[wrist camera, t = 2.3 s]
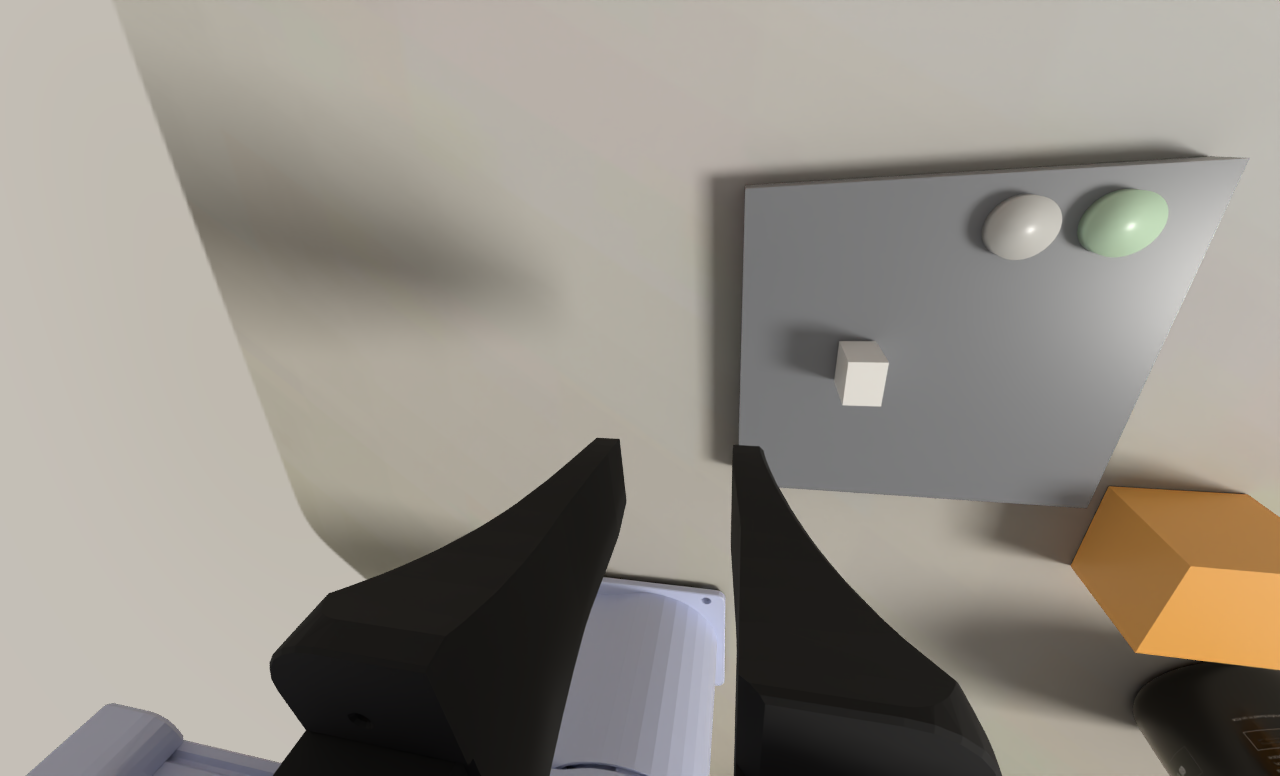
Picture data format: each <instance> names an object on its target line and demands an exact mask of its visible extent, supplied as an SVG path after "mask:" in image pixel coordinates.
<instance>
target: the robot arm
mask: <svg viewBox="0 0 1280 776" xmlns="http://www.w3.org/2000/svg"><path fill="white" fill-rule="evenodd" d="M625 505H626V493H625V484H624V475H623V466H622V457H621V448H620V439H609V438H596V439H595V440H594V441H593V442H591V443H590V444H589V445H588V446H587V447H586V448H584V449H583V450H582V451H581V452H580V453H579V454H578V455H576V456H575V457H574V458H573V459H572V460H571V461H570V462H568V463H567V464H566V465H565V466H564V467H562V468H561V469H560V470H559V471H558V472H556V473H555V474H554V475H553V476H552V477H551V478H549V479H548V480H547V481H546V482H544V483H543V484H542V485H540V486H539V487H538V488H536V489H535V490H534V491H532V492H531V493H530V494H528V495H527V496H526V497H524V498H523V499H522V500H521V501H519V502H518V503H516V504H515V505H514V506H512V507H511V508H509V509H508V510H506V511H505V512H503V513H502V514H500V515H499V516H497V517H495V518H494V519H492V520H491V521H489V522H487V523H486V524H484V525H483V526H481V527H479V528H477V529H476V530H474V531H472V532H470V533H468V534H466V535H465V536H463V537H461V538H459V539H457V540H455V541H453V542H451V543H450V544H448V545H446V546H444V547H442V548H440V549H438V550H436V551H434V552H432V553H430V554H428V555H425V556H423V557H421V558H419V559H417V560H415V561H412V562H410V563H408V564H405V565H403V566H401V567H398V568H396V569H394V570H391V571H389V572H386V573H384V574H381V575H379V576H376V577H373V578H370V579H368V580H365V581H362V582H360V583H357V584H354V585H352V586H349V587H346V588H343V589H341V590H338V591H335V592H332V593H329V594H328V595H327V596H326V597H325V598H324V599H323V600H322V601H321V602H320V603H319V605H318V606H317V607H316V608H315V609H314V610H313V611H312V612H311V613H310V614H309V615H308V617H307V618H306V619H305V620H304V621H303V622H302V623H301V624H300V625H299V626H298V628H297V629H296V630H295V631H294V632H293V633H292V634H291V635H290V636H289V637H288V638H287V639H286V641H285V642H284V643H283V644H282V645H281V646H280V647H279V648H278V649H277V650H276V652H275V653H274V654H273V656H272V658H271V661H270V673H271V679H272V681H273V683H274V685H275V686H276V688H277V690H278V691H279V693H280V694H281V696H282V697H283V699H284V700H285V701H286V703H287V704H288V705H289V707H290V708H291V710H292V711H293V712H294V714H295V715H296V717H297V718H298V720H299V721H300V722H301V724H302V725H303V726H304V728H305V729H306V731H305V733H304V734H303V735H302V737H301V738H300V739H299V741H298V742H297V743H296V745H295V746H294V748H293V749H292V750H291V752H290V753H289V754H288V756H287V757H286V758H285V760H284V761H283V762H282V763H279V762H275V761H270V760H266V759H262V758H258V757H254V756H249V755H245V754H240V753H237V752H232V751H228V750H224V749H219V748H215V747H211V746H207V745H202V744H199V743H194V742H190V741H186V740H183V735H182V734H181V732H180V731H179V730H178V729H177V728H176V727H175V726H174V724H172V723H171V722H170V721H169V720H168V719H166V718H164V717H162V716H161V715H159V714H156V713H153V712H150V711H145V710H141V709H137V708H133V707H128V706H124V705H119V704H114V703H112V704H107V705H105V706H104V707H103V708H102V709H100V710H99V711H98V712H97V713H96V714H95V715H94V716H92V717H91V718H90V719H89V720H88V721H87V722H86V723H85V724H84V725H82V726H81V727H80V728H79V729H78V730H77V731H76V732H75V733H73V734H72V735H71V736H70V737H69V738H68V739H67V740H65V741H64V742H63V743H62V744H61V745H60V746H59V747H57V748H56V749H55V750H54V751H53V752H52V753H51V754H50V755H48V756H47V757H46V758H45V759H44V760H43V761H42V762H41V763H39V764H38V765H37V766H36V767H35V768H34V769H33V770H32V771H30V773H28V774H27V775H26V776H709V773H710V756H711V740H712V724H713V708H714V691H715V685H718V686H719V685H722V684H723V683H724V665H725V595H724V594H723V593H722V592H720V591H718V590H712V589H703V588H694V587H686V586H677V585H668V584H660V583H651V582H642V581H634V580H625V579H616V578H607V577H604V574H605V571H606V569H607V566H608V563H609V561H610V558H611V555H612V553H613V550H614V547H615V544H616V541H617V539H618V536H619V532H620V528H621V523H622V519H623V515H624V510H625ZM731 556H732V572H733V588H734V603H735V619H736V638H737V666H736V708H735V749H734V776H1002V774H1001V771H1000V768H999V765H998V762H997V759H996V757H995V754H994V751H993V749H992V747H991V744H990V742H989V740H988V738H987V735H986V733H985V731H984V730H983V728H982V726H981V724H980V722H979V720H978V718H977V716H976V714H975V712H974V711H973V709H972V707H971V705H970V703H969V702H968V700H967V698H966V696H965V694H964V692H963V691H962V689H961V687H960V686H959V684H958V683H957V682H956V681H955V680H954V679H953V678H952V677H950V676H949V675H948V674H947V673H945V672H944V671H943V670H942V669H940V668H939V667H938V666H937V665H936V664H934V663H933V662H932V661H931V660H929V659H928V658H927V657H926V656H924V655H923V654H922V653H921V652H919V651H918V650H917V649H916V648H914V647H913V646H912V645H911V644H910V643H908V642H907V641H906V640H905V639H904V638H902V637H901V636H900V635H899V634H898V633H897V632H896V631H895V630H894V629H893V628H891V627H890V626H889V625H888V624H887V623H886V622H885V621H884V620H883V619H882V618H881V617H880V616H879V615H878V614H877V613H876V612H875V611H874V610H873V609H872V608H871V607H870V606H869V605H868V604H867V603H866V602H865V601H864V600H863V599H862V598H861V597H860V596H859V595H858V594H857V593H856V592H855V591H854V590H853V589H852V588H851V587H850V586H849V585H848V584H847V582H846V581H845V580H844V579H843V578H842V577H841V576H840V574H839V573H838V572H837V571H836V570H835V569H834V567H833V566H832V565H831V564H830V563H829V561H828V560H827V559H826V558H825V556H824V555H823V554H822V553H821V551H820V550H819V549H818V548H817V546H816V545H815V544H814V542H813V541H812V540H811V538H810V537H809V535H808V534H807V533H806V531H805V530H804V528H803V527H802V525H801V524H800V522H799V521H798V519H797V518H796V516H795V514H794V513H793V511H792V510H791V508H790V506H789V505H788V503H787V501H786V499H785V498H784V496H783V494H782V492H781V491H780V489H779V487H778V485H777V483H776V481H775V479H774V477H773V475H772V472H771V470H770V468H769V466H768V463H767V460H766V457H765V454H764V450H763V449H762V448H761V447H760V446H746V445H734V446H733V460H732V513H731Z"/></svg>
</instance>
